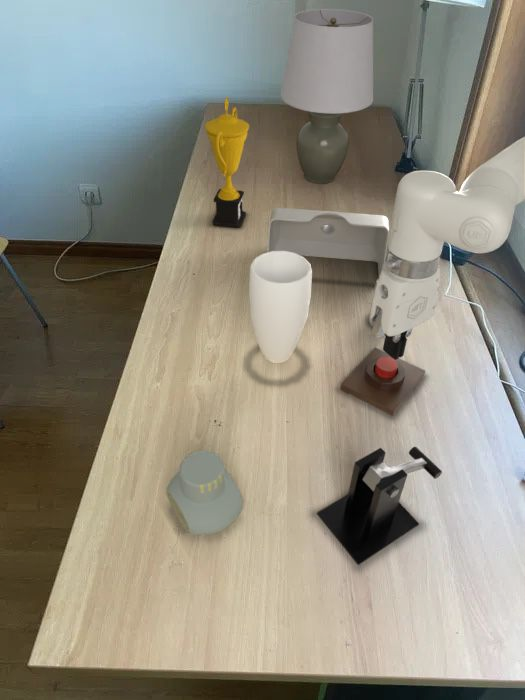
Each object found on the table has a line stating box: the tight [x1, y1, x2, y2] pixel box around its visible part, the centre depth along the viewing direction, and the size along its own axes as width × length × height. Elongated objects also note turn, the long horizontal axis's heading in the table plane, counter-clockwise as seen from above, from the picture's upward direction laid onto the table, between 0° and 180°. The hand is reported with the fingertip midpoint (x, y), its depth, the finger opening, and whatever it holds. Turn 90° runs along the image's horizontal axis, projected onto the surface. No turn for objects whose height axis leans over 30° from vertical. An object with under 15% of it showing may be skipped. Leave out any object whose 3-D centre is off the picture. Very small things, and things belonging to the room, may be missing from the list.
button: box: [375, 357, 398, 379], centre depth 96 cm, size 4×4×2 cm
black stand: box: [316, 447, 420, 566], centre depth 75 cm, size 11×9×13 cm
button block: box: [340, 347, 426, 417], centre depth 98 cm, size 12×10×4 cm
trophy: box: [204, 96, 250, 229], centre depth 130 cm, size 19×10×30 cm, turn 170°
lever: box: [363, 446, 443, 491], centre depth 75 cm, size 12×5×2 cm, turn 123°
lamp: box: [279, 8, 374, 185], centre depth 147 cm, size 24×24×40 cm
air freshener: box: [165, 449, 244, 536], centre depth 77 cm, size 11×8×10 cm
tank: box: [266, 207, 390, 278], centre depth 123 cm, size 25×16×12 cm, turn 83°
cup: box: [248, 251, 313, 364], centre depth 95 cm, size 10×10×22 cm
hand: (392, 353), depth 93 cm, fingers closed
